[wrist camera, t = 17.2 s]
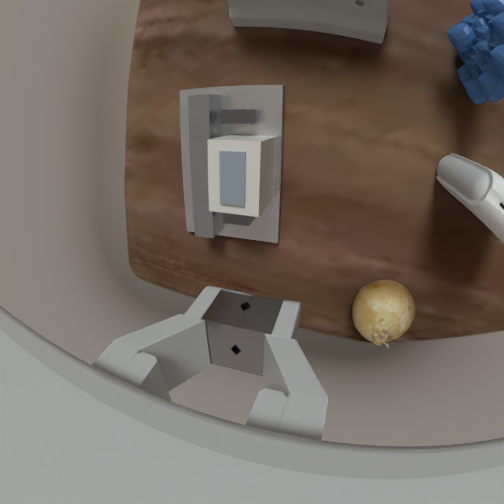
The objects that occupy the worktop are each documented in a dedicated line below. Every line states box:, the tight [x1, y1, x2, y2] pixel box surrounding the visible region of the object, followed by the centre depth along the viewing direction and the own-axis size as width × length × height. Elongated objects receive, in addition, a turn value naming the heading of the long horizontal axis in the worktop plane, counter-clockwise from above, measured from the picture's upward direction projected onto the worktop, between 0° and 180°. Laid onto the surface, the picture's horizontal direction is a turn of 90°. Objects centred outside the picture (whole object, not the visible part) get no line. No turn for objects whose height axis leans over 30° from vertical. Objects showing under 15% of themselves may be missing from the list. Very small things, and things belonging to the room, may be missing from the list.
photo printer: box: [436, 153, 504, 243], centre depth 19 cm, size 10×4×12 cm, turn 66°
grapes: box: [447, 0, 504, 104], centre depth 13 cm, size 12×7×12 cm, turn 177°
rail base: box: [180, 85, 284, 243], centre depth 30 cm, size 12×18×4 cm, turn 0°
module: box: [208, 134, 276, 217], centre depth 28 cm, size 5×7×6 cm
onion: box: [352, 279, 415, 348], centre depth 31 cm, size 8×8×7 cm
